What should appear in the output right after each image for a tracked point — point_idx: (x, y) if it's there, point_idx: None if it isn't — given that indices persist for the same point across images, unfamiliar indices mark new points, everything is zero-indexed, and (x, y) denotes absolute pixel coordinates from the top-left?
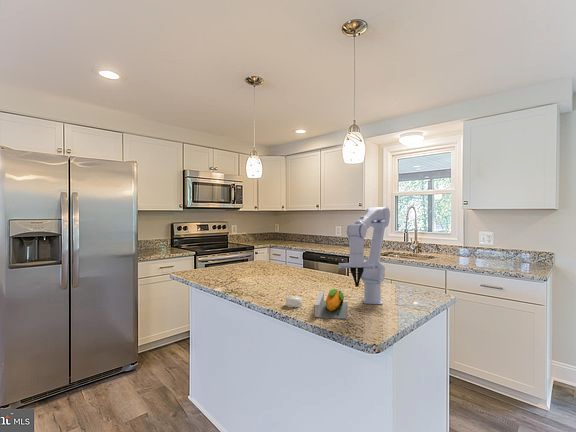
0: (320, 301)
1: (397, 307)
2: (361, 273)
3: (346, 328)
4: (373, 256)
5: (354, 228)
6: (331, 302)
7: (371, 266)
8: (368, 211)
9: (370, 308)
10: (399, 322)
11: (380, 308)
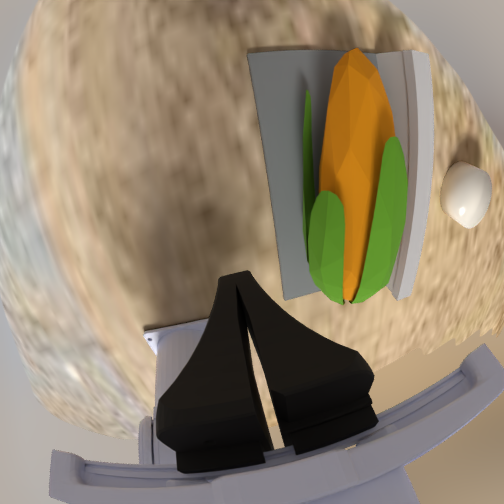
0: (417, 117)
1: (86, 321)
2: (182, 381)
3: None
4: None
5: None
6: (367, 76)
7: (81, 484)
8: None
9: (170, 272)
10: (20, 143)
11: (132, 288)
